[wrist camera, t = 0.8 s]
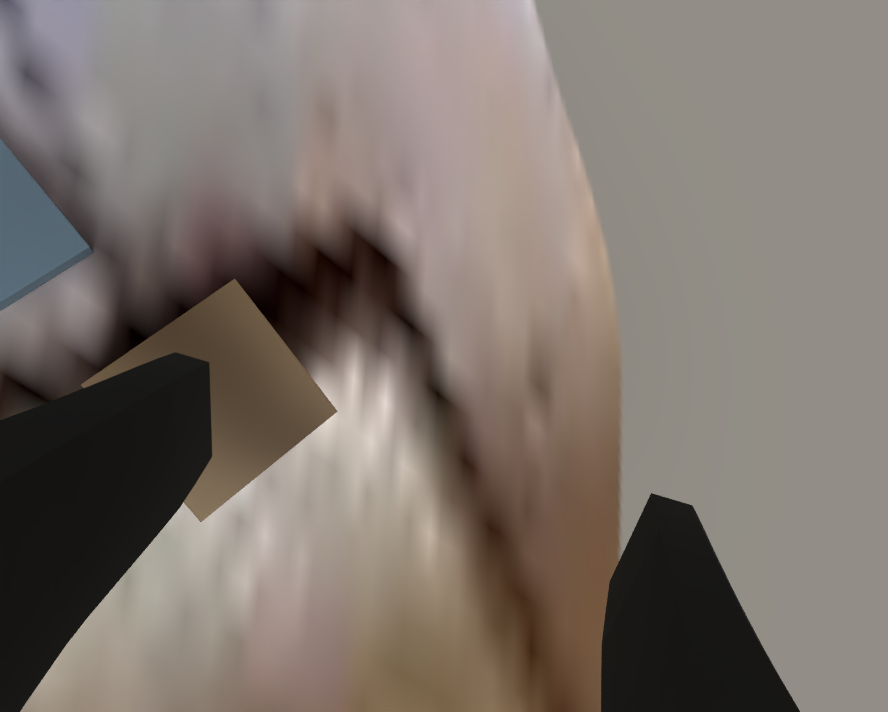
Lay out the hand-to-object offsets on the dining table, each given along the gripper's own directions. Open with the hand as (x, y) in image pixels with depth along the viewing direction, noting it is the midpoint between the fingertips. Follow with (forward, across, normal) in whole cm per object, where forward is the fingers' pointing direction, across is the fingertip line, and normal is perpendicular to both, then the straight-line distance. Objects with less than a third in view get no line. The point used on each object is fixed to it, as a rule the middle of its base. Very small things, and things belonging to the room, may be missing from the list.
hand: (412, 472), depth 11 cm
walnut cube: (+9, +9, +8) cm, 16 cm away
